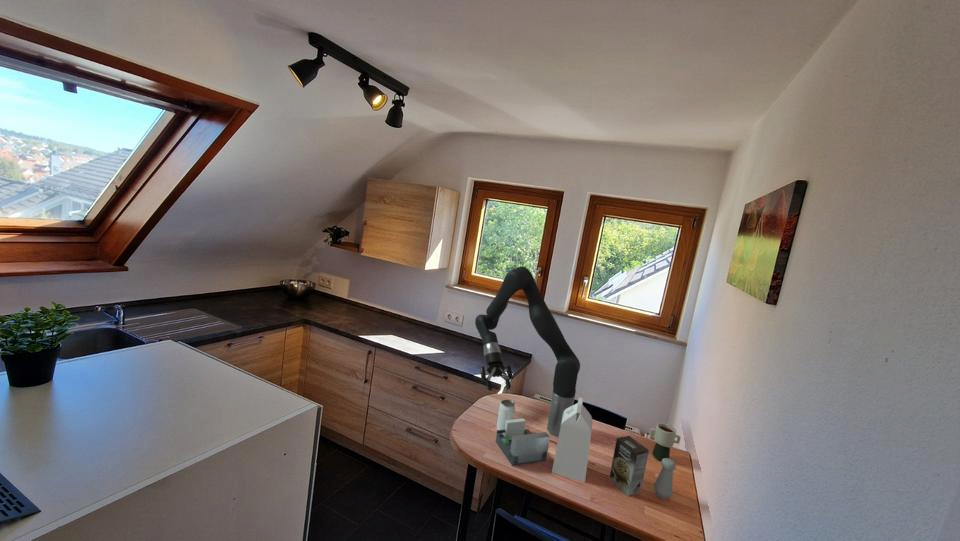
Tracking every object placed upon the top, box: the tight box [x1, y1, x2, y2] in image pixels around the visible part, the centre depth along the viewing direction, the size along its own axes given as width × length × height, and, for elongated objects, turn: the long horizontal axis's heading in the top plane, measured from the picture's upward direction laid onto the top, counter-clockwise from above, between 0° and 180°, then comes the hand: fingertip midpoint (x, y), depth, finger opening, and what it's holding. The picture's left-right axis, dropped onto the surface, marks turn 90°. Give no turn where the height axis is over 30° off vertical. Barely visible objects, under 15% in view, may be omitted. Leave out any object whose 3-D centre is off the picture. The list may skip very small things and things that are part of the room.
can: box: [496, 399, 516, 434], centre depth 161 cm, size 6×6×12 cm
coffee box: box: [608, 435, 650, 497], centre depth 134 cm, size 9×6×16 cm
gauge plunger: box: [496, 417, 526, 441], centre depth 153 cm, size 12×2×8 cm, turn 112°
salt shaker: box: [653, 458, 677, 500], centre depth 132 cm, size 6×6×13 cm
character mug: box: [649, 422, 681, 462], centre depth 154 cm, size 11×7×13 cm, turn 68°
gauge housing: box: [495, 428, 551, 467], centre depth 148 cm, size 14×15×10 cm
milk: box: [551, 397, 593, 483], centre depth 140 cm, size 12×12×26 cm
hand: (499, 389), depth 168 cm, fingers open, 8 cm apart
